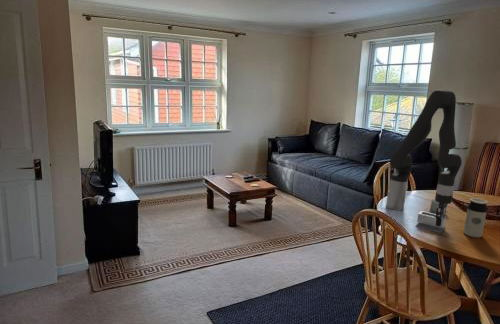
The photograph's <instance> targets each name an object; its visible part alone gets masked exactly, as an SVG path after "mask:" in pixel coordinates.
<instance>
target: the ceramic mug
mask: <svg viewBox="0 0 500 324" xmlns="http://www.w3.org/2000/svg"><path fill="white" fill-rule="evenodd" d="M438 204H439V202H437V201H435V198H432V199H431V203H430V207H429V213H433V214H436V210H437V205H438Z"/></svg>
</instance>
